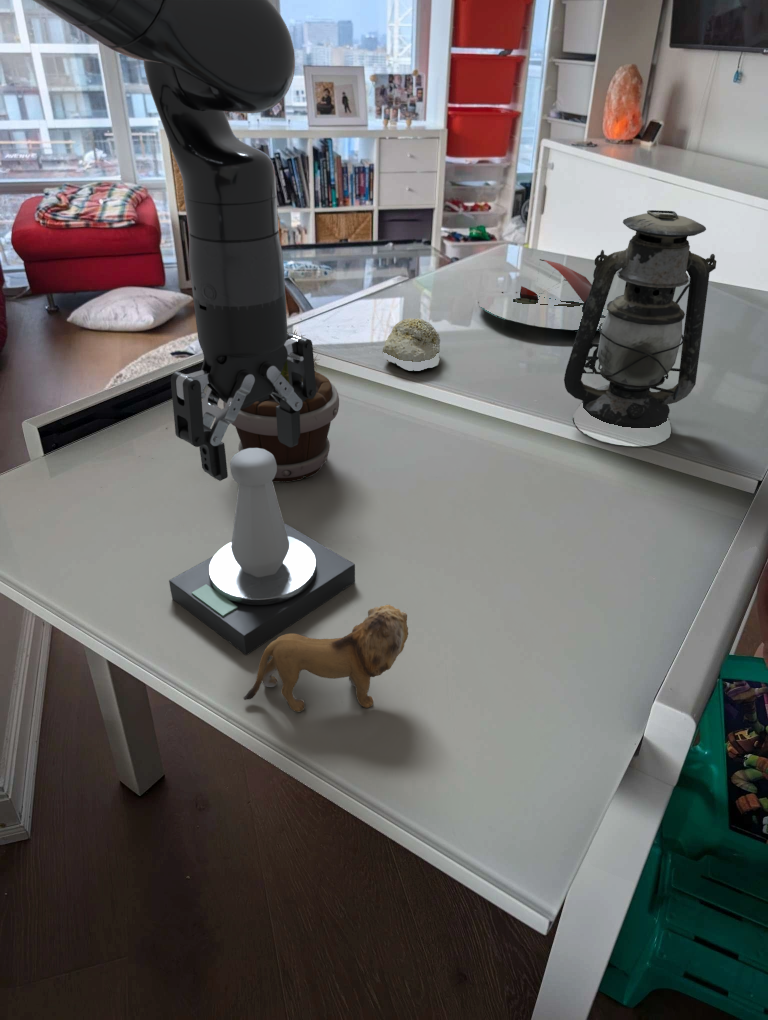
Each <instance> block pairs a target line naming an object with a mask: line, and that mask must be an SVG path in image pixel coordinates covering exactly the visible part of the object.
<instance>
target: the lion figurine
mask: <svg viewBox="0 0 768 1020" xmlns="http://www.w3.org/2000/svg"><path fill="white" fill-rule="evenodd" d="M408 637H409V627H408V614H407V612H405V611H401V609H400V608H396V607H394V606H392V605H391V604H385V605H380V606H374V607H372V608H368V611H367V616H366V617H365V618H364V620H363V621H362V622H360V623H359V624H356V625H355V626H354V627H353V628H352V631H351V632H350V633H348V634H347V635H345V636H343V637H337V638H311V637H308V636H305V635H302V634H298V633H285V634H282V635H280V636H278V637H276V639H274V640H273V641H271V642H270V643H269V644H267V646H266V647H265V649H264V651H263V653H262V655H261V658H260V661H259V665H258V670H257V674H256V675H257V676H256V680H255V682H254V685H253V686H252V688H251V689H250V690H249V691H248V692H247V693H246V695H244V696H243V700H244V701H247V700H248V701H249V700H252V699H253V698H254V697H256V695H257V693H258V691H259V689H260V687H261V685H262V684H263V685H264V687H267V688H274V687H276V686H277V685H278V683H279V682H278V678H276V676H273V675H272V674H273V673H275V672H276V671H277V673H278V676H279V677H280V680H281V682H282V686H281V690H280V692H281V695H282V696H283V698H284V699H285V700H286V702H287V704H288V706H289V708H290V709H291V710H292V711H294V712H295V713H300V712H303V711H304V710H305V707H306V705H305V701H304V700H303V699H302V698H301V699H300V698H296V697H295V696H294V688H295V687H296V684H297V683H298V681H299V678H300V672H301V671H306V672H308V673H310V674H312V675H313V676H314V675H315V676H317V677H318V678H324V679H334V680H335V679H336V680H337V679H343V678H348V681H349V682H350V684H351V685H352V686H354V687H355V692H356V693H355V696H356V699H357V701H358V703H359V705H360V706H361V707H363V708H366V709H369V708H371V707H373V704H374V698H373V696H372V695H368V692H369V691H370V690H369V689H370V685H371V678H375V677H379V676H381V675H382V674H383V673H384V672H386V671H389V670H390V669H391V668H392V666H393V665H394V664H395V661H396V660H397V658H398V656H399V655H400V654H401V653H402V652H403V651H404V648H405V643H406V642H407V640H408Z"/></svg>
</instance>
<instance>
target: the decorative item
mask: <svg viewBox="0 0 768 1020" xmlns="http://www.w3.org/2000/svg"><path fill="white" fill-rule="evenodd" d="M440 343H441V338H440V334H439V333H438V331H437V330H436V328H435V327H434V326H433V325H432V324H431V323H430V322H428V321H426V320H425V319H422V318H413V317H410V318H405V319H402V320H400V321H398V322H397V323H395V325H394V326H393V327H392V329H391V333H389V335H388V336H387V338H386V339H385V342H384V345H383V347H382V353H383V352H384V353H387V354H388V355H391V356H393V357H395V358H397V359H399V360H403V361H412V362H421V361H425V360H430V359H432V358H434V357H435V356H436V354H437V353H439V352H440V351H441V348H440V347H441V345H440ZM440 353H441V352H440Z"/></svg>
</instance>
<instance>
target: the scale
mask: <svg viewBox="0 0 768 1020" xmlns="http://www.w3.org/2000/svg"><path fill="white" fill-rule="evenodd" d="M284 526H285V530H286V533H287V536H290V537H293V538H296V539H298V540H300V541H302V542H303V543H305V544H306V545H307V546H308V547H309V548H310V549H311V550H312V551H313V553H314V555H315V558H316V566H317V570H316V575H315V577H314V579H313V581H312V583H311V584H310V585H309V586H308V587H307V588H306V589H305V590H304V591H302V592H301V593H300V594H298V595H296V596H295V597H292V598H290V599H288V600H285V601H282V602H278V603H274V604H268V605H247V604H241V603H237V602H234V601H231V600H229V599H226V598H225V597H223V596H221V595H220V594H219V593H218V592H217V591H216V590H215V589H214V588H213V586H212V584H211V582H210V578H209V565H210V562H211V560H212V558H213V556H211V557H209V558H207V559H205V560H203V561H201V562H200V563H198V564H196V565H194V566H193V567H191V568H189V569H187V570H185V571H183V572H182V573H180V574H178V575H176V576H174V577H172V578H170V579H169V580H168V582H169V589H170V594H171V595H170V596H171V599H172V600H173V601H175V602H176V604H178V605H179V606H181V607H182V608H183V609H185V610H186V611H187V612H189V613H190V614H191V615H193V616H194V617H195V618H196V619H198V620H199V621H200V622H202V623H204V624H205V625H206V626H207V627H209V629H211V630H213V631H214V632H215V633H217V634H218V635H219V636H220V637H222V638H223V639H225V640H226V641H227V642H228V643H230V644H231V645H232V646H233V647H235V648H236V649H237V650H239V651H240V652H241V653H243V654H244V655H246V656H247V655H249V654H250V653H252V652H253V651H255V650H256V649H258V648H259V647H260V646H262V645H263V644H265V643H266V642H268V641H269V640H271V639H273V638H274V637H275V636H277V635H279V634H280V633H281V632H283V631H285V630H286V629H288V628H289V627H290V626H292V625H294V624H295V623H296V622H298V621H299V620H301V619H302V618H304V617H305V616H307V615H308V614H310V613H311V612H314V611H315V610H316V609H318V608H319V607H320V606H322V605H323V604H325V603H327V602H328V601H330V600H331V599H332V598H334V597H336V596H337V595H338V594H339V593H341V592H343V591H344V590H345V589H347V588H348V587H350V586H352V585H353V584H354V583H356V564H355V563H354V562H352V561H351V560H349V559H347V558H346V557H344V556H342V555H340V554H338V553H337V552H335V551H333V550H332V549H330V548H328V547H327V546H325V545H323V544H321V543H320V542H318V541H316V540H315V539H313V538H311V537H309V536H308V535H306V534H304V533H303V532H301V531H299V530H298V529H296V528H295V527H293V526H291V525H290V524H287V523H286V522H284Z"/></svg>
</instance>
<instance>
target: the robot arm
mask: <svg viewBox="0 0 768 1020" xmlns="http://www.w3.org/2000/svg"><path fill="white" fill-rule="evenodd" d="M32 1H33V2H34V3H36V4H38V5H39V6H41V7H42V8H44V9H45V10H47V11H49V12H50V13H52V14H53V15H55V16H57V17H58V18H60V19H61V20H63V21H65V22H66V23H68V24H69V25H71V26H73V28H75V29H77V30H79V31H81V32H83V33H84V34H85V35H87V36H89V37H90V38H92V39H93V40H95V41H97V42H98V43H100V44H102V45H103V46H105V47H106V48H108V49H110V50H112V51H114V52H116V53H118V54H120V55H123V56H126V57H127V58H131V59H134V60H139V61H143V63H142V64H143V68H144V72H145V78H146V81H147V85H148V89H149V91H150V94H151V97H152V100H153V102H154V106H155V108H156V111H157V114H158V116H159V119H160V122H161V124H162V127H163V130H164V133H165V137H166V138H167V141H168V144H169V147H170V149H171V152H172V156H173V157H174V159H175V162H176V165H177V167H178V170H179V173H180V176H181V181H182V186H183V196H184V197H183V199H184V207H185V214H186V222H187V223H186V224H187V231H188V267H189V275H190V283H191V290H192V291H191V292H192V299H193V308H194V309H193V310H194V317H195V324H196V332H197V338H198V339H197V341H198V343H199V346H200V348H201V352H202V354H203V362H202V366H201V369H200V370H197V371H193V372H190V373H183V372H181V371H175V372H173V373H172V374H171V376H170V389H171V399H172V411H173V421H174V432H175V436H176V437H177V438H179V439H181V440H183V441H185V442H187V443H189V444H190V445H191V446H193V447H195V448H199V455H200V463H201V468H202V470H203V471H204V472H205V473H206V474H208V476H210V477H212V478H213V479H215V480H217V481H218V482H221V481H223V480H226V479H227V478H228V476H229V474H228V464H227V455H226V447H225V445H226V444H225V443H224V442H223V439H224V436H225V434H226V432H227V430H228V428H229V425H232V424H231V423H233V422H234V421H235V420H236V417H237V415H238V413H239V411H240V409H244V408H247V407H249V406H251V405H252V404H253V403H255V402H256V401H264V400H267V399H269V395H271V396H272V397H273V398H274V399H275V400H276V401H277V403H279V404H280V405H279V406H277V407H276V417H277V432H278V439H279V441H280V442H281V443H283V444H285V445H287V446H289V447H293V446H295V445H297V444H298V438H299V437H300V433H301V431H300V409H301V408H302V405H303V402H304V401H305V400H306V399H307V398H309V399H312V398H314V396H315V395H316V382H315V371H316V370H315V367H314V366H315V364H314V363H315V362H314V361H315V360H314V358H315V357H314V355H313V354H314V352H313V351H314V350H313V349H314V345H313V341H312V340H311V339H310V338H306V337H305V336H302V337H301V335H299V334H296V333H295V334H294V332H288V316H287V315H288V314H287V299H286V298H287V297H286V277H285V264H284V262H285V261H284V256H283V249H282V243H281V239H280V230H279V226H280V225H279V210H278V194H277V193H278V192H277V177H276V170H275V165H274V163H273V160H272V159H271V157H270V156H269V155H268V154H267V153H265V152H264V151H263V150H260V149H258V148H256V147H254V146H252V145H249V144H247V143H245V142H244V141H242V140H240V139H239V138H238V137H237V136H236V135H235V134H234V132H233V130H232V127H231V125H230V123H229V119H228V117H227V115H226V112H229V113H241V114H258V113H262V112H263V113H264V112H266V111H268V110H271V109H272V108H274V107H276V106H277V105H278V104H279V103H281V102H282V100H283V99H284V98H285V97H286V95H287V94H288V92H289V91H290V88H291V86H292V84H293V80H294V76H295V71H296V56H295V55H296V54H295V48H294V43H293V39H292V36H291V33H290V31H289V28H288V26H287V24H286V22H285V20H284V19H283V17H282V16H281V14H280V11H278V9H277V8H276V6H274V4H273V3H272V2H271V1H270V0H32ZM287 332H288V333H287ZM286 360H287V365H288V375H289V383H288V381H287V380H286V379H285V378H284V377H283V376H282V375H281V372H282V370H283V367H284V365H285V363H286ZM301 376H302V377H301ZM302 380H303V382H302ZM206 387H208V388H207V389H206ZM205 389H206V392H205ZM220 400H221V401H222V402H223V401H224V402H225V403H227V404H226V406H225V407H224V406H223V408H221V407H219V406H218V404H219V401H220Z"/></svg>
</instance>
